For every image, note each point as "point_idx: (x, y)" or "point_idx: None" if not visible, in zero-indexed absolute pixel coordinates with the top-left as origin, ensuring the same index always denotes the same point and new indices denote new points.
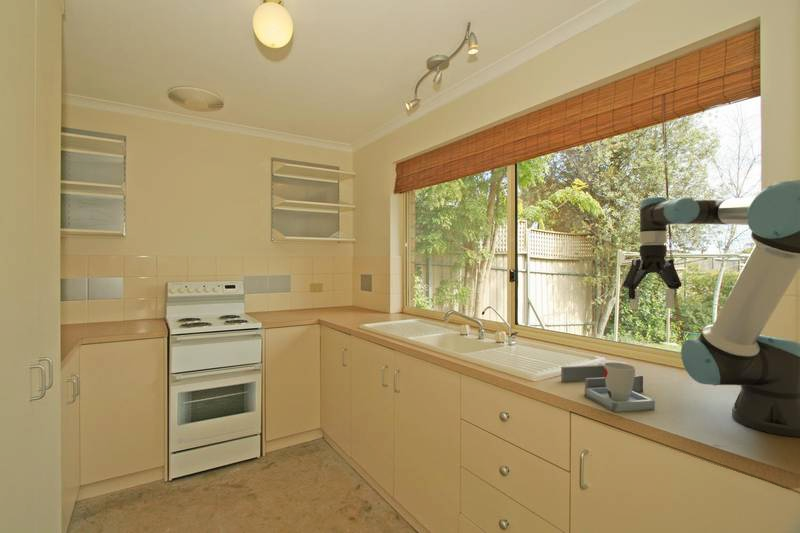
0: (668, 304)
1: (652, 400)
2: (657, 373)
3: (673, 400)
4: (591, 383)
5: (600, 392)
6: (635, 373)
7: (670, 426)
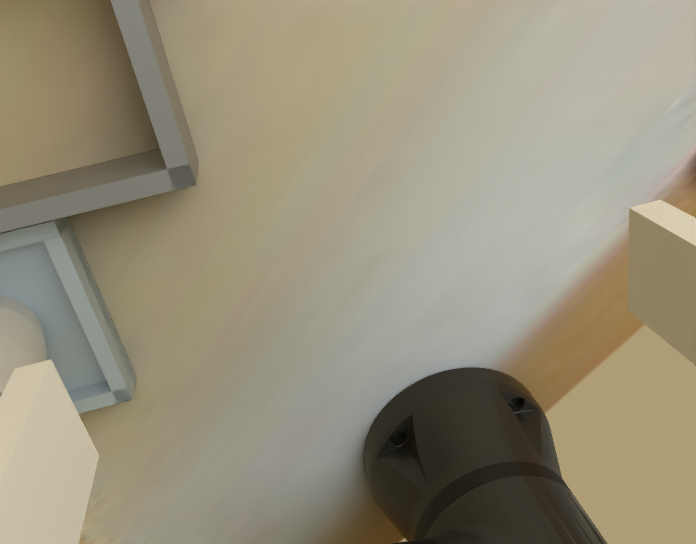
0: (660, 278)
1: (122, 400)
2: None
3: (279, 270)
4: None
5: None
6: (176, 129)
7: (115, 507)
